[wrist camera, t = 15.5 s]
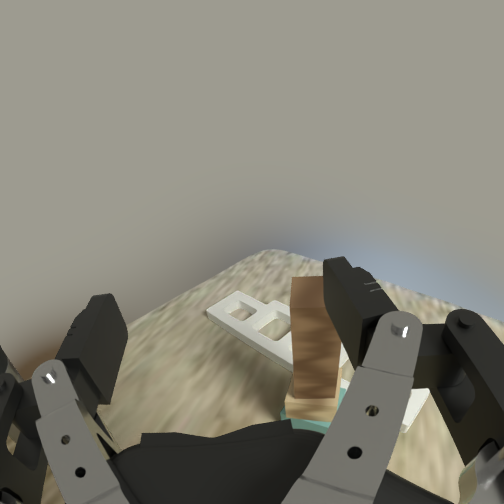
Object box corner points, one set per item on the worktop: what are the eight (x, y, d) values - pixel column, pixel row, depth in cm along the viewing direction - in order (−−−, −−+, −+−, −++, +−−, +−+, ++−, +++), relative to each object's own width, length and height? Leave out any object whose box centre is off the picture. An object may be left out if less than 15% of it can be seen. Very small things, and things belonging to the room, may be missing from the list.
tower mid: (286, 417, 37) (284, 401, 35) (296, 381, 43) (295, 363, 41) (334, 422, 35) (336, 406, 33) (340, 385, 41) (342, 367, 39)
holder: (208, 319, 65) (205, 310, 64) (267, 281, 75) (266, 272, 74) (404, 435, 34) (408, 426, 33) (448, 358, 44) (452, 347, 43)
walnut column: (294, 398, 35) (289, 308, 28) (296, 368, 40) (292, 277, 32) (334, 398, 34) (344, 306, 27) (333, 368, 39) (340, 275, 31)
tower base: (282, 426, 40) (280, 412, 38) (302, 392, 45) (301, 376, 43) (326, 441, 36) (328, 427, 35) (344, 404, 42) (346, 388, 40)
